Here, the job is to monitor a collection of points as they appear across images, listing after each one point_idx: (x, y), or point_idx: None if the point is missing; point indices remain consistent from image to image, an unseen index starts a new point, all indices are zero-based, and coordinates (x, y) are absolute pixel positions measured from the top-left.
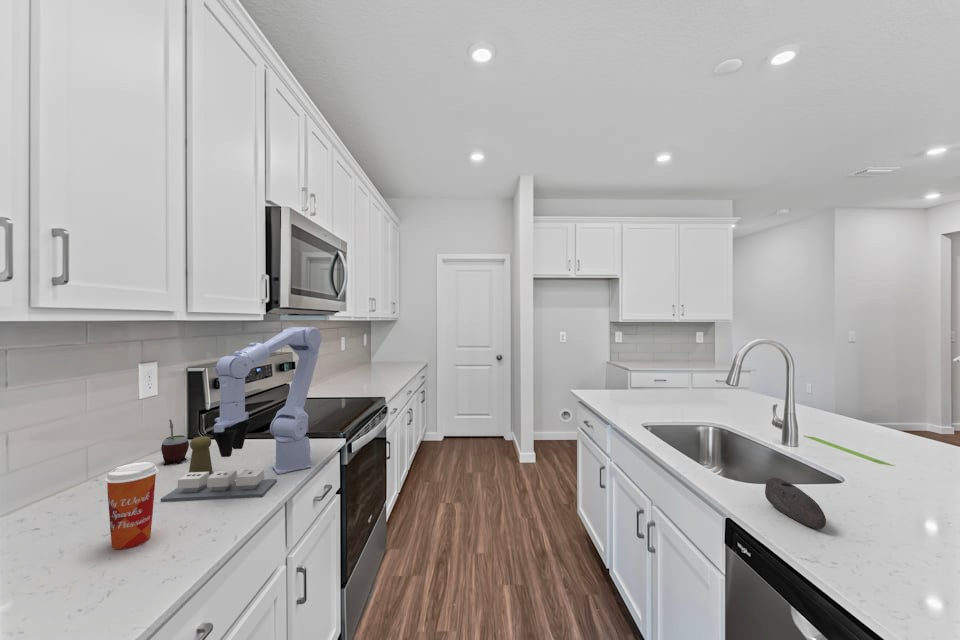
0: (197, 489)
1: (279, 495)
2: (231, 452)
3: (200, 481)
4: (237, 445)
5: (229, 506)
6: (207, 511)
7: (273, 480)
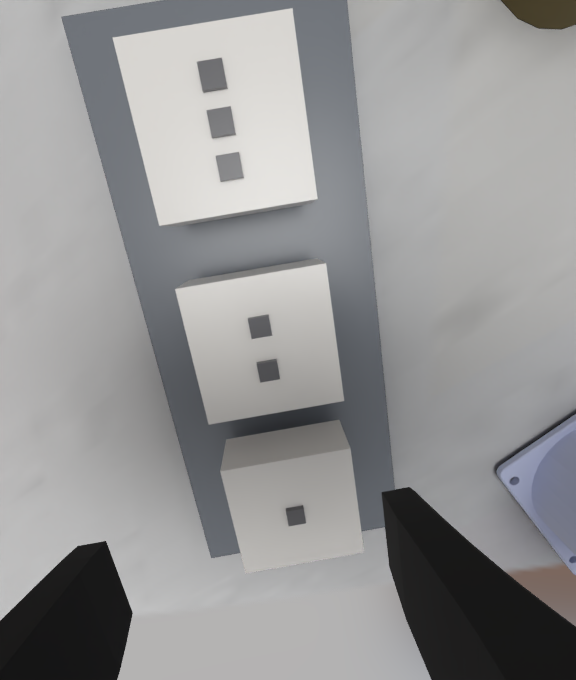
0: None
1: (237, 598)
2: (108, 670)
3: (190, 222)
4: (399, 572)
5: (98, 470)
6: (28, 408)
7: (377, 519)
